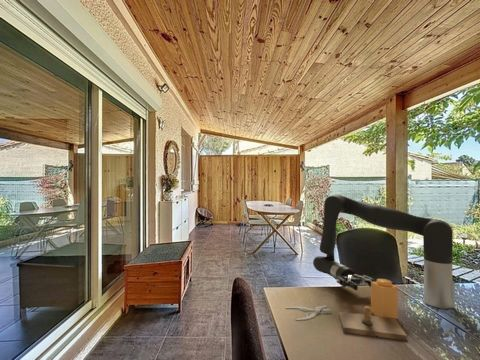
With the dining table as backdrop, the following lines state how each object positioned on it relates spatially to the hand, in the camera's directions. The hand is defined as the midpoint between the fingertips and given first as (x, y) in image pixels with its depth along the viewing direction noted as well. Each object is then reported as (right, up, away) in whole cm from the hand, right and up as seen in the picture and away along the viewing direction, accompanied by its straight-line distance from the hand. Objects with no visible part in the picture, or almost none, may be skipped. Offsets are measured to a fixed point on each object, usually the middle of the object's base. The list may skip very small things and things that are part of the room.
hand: (366, 287), depth 107 cm
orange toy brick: (+2, -6, -9) cm, 11 cm away
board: (-7, -6, -18) cm, 20 cm away
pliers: (-25, -6, -9) cm, 27 cm away
